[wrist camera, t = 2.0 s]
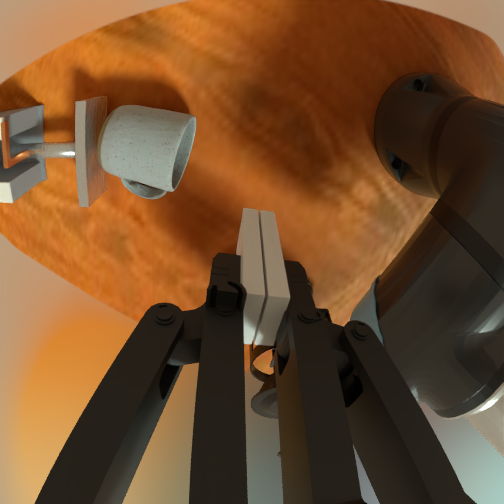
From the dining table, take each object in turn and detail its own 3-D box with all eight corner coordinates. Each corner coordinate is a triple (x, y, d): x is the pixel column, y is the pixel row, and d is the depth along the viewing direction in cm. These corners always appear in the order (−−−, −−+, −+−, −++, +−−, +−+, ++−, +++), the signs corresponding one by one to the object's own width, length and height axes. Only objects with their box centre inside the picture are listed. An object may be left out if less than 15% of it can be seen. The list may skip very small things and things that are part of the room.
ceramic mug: (128, 98, 25) (95, 108, 19) (201, 111, 26) (186, 123, 20) (117, 186, 31) (88, 217, 24) (181, 200, 32) (165, 235, 26)
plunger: (108, 95, 24) (71, 104, 18) (106, 189, 30) (77, 218, 24) (25, 104, 22) (-14, 117, 16) (30, 184, 28) (-2, 210, 22)
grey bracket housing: (43, 104, 24) (5, 116, 18) (46, 179, 29) (14, 203, 23) (-6, 113, 22) (-41, 127, 16) (-1, 178, 28) (-32, 200, 22)
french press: (239, 316, 43) (238, 467, 24) (246, 266, 37) (248, 444, 18) (314, 320, 44) (342, 460, 25) (331, 273, 38) (381, 432, 19)
